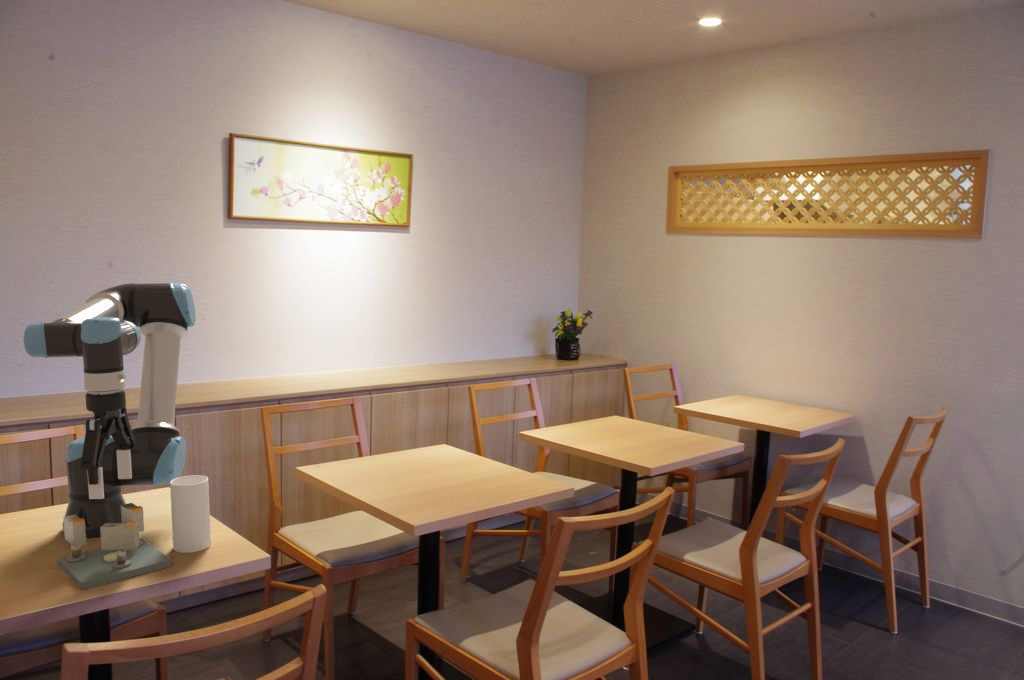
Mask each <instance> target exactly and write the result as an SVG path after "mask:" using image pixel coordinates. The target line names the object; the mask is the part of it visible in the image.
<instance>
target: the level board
mask: <svg viewBox="0 0 1024 680" xmlns="http://www.w3.org/2000/svg"><path fill="white" fill-rule="evenodd" d="M139 541H140V546H138V547H137V548H136V549H135V550H126V562H125V563H120V564H119V563H117V554H116V550H102V547H98V548H94V549H91V550H87V551H83V552H82V551H81V556H79V557H72V554H70V555H65V556H62V557H57V558H56V561H57V562H56V564H57V566H58V567H59V568H60V569H61V570H62V571H63V573H65V574H66V575H67V576H68V577H69V578H70V579H71V581H73V582H74V583H75V585H77V586H78V588H80V590H82V591H84V590H88V589H91V588H96V587H98V586H102V585H106V584H110V583H114V582H118V581H122V580H126V579H129V578H132V577H136V576H140V575H143V574H147V573H150V572H155V571H157V570H158V571H159V570H162V569H165V568H169V567H172V566H173V563H172V559H171V558H170V557H169V556H168V555H166V554H165V553H164V552H162V551H160V550H159V549H158V548H156V547H155V546H153V545H152V544H151V543H150V542H148V541H147V540H145V539H144V538H143V537H141V538H140V537H139Z"/></svg>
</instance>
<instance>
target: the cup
mask: <svg viewBox="0 0 1024 680" xmlns="http://www.w3.org/2000/svg"><path fill="white" fill-rule="evenodd" d="M169 487H170V504H171V505H170V508H171V511H170V512H171V527H172V528H171V529H172V530H171V531H172V546H173V547H172V549H173V551H175V552H176V553H181V554H189V553H191V554H192V553H197V552H200V551H203V550H207V549H209V547H211V546H212V537H211V534H212V533H211V512H210V511H211V510H210V509H211V508H210V492H209V491H210V488H209V477H208V476H206V475H199V474H198V475H197V474H191V475H184V476H179V477H178V478H175V479H173V480H171V481H170V483H169Z"/></svg>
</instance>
